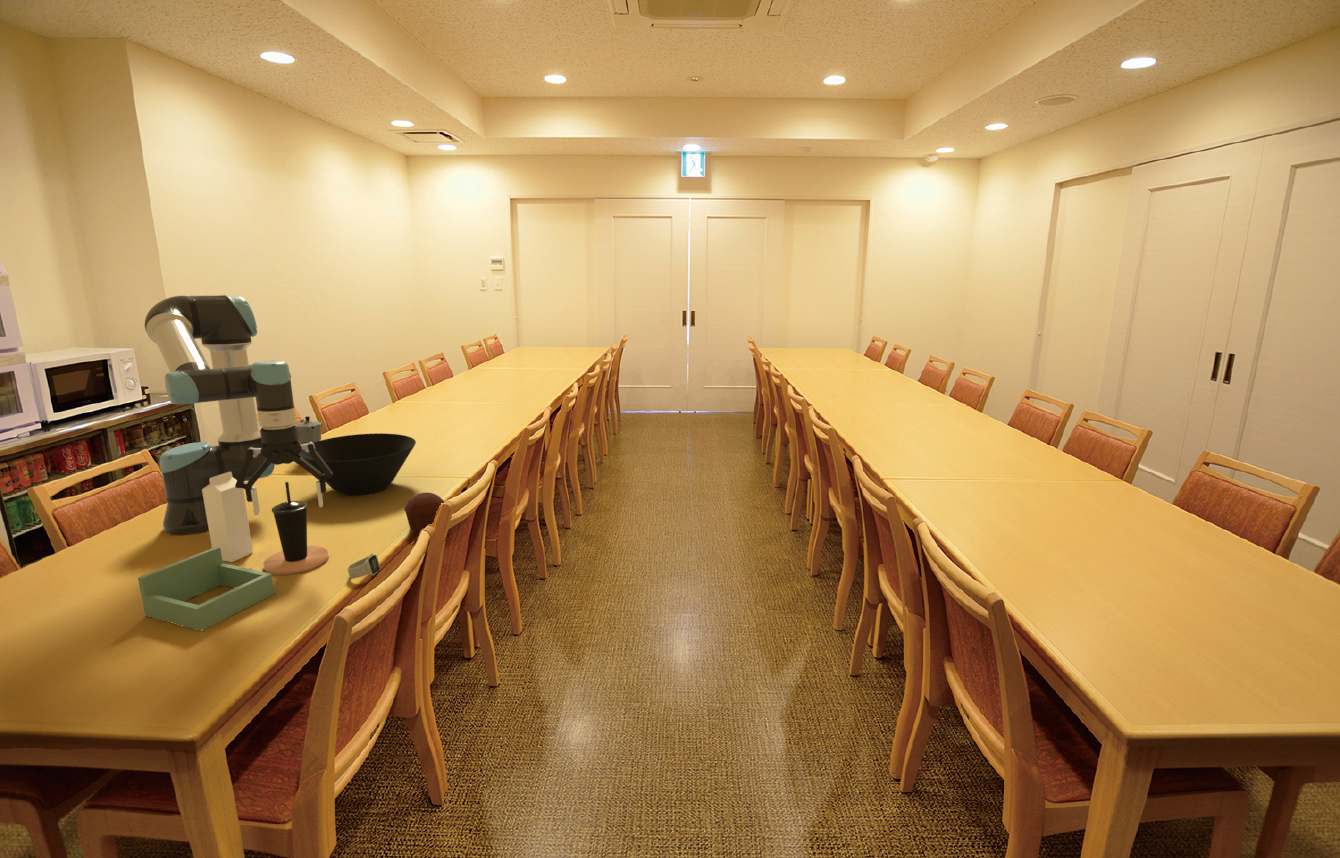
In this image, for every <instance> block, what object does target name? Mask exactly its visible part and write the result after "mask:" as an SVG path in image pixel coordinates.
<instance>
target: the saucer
mask: <svg viewBox="0 0 1340 858" xmlns="http://www.w3.org/2000/svg"><path fill="white" fill-rule="evenodd" d="M327 559H328V560H329V552H328V549H326V548H324V547H321V546H317V545H315V546H314V545H307V557H306V558H305V559H302V560H299V561H295V562H288V561H286V560H285V558H284V553H283V550H282V551H279V552H276V553H274V554H272V555H270V556H269V557H267V558H266V559H265V560H264V562H263V570H264V572H266V573H270V574H272V576H273V575H275V576H290V575H296V574H301V573H305V572H309V571H311V570H314V569H316V568H318V566H319V567H321V566H322V565H323V563H324V562H325V563H326V562H327V561H328V560H327ZM325 563H324V564H325ZM321 564H322V565H321ZM308 570H309V571H308ZM304 571H305V572H304Z"/></svg>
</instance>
